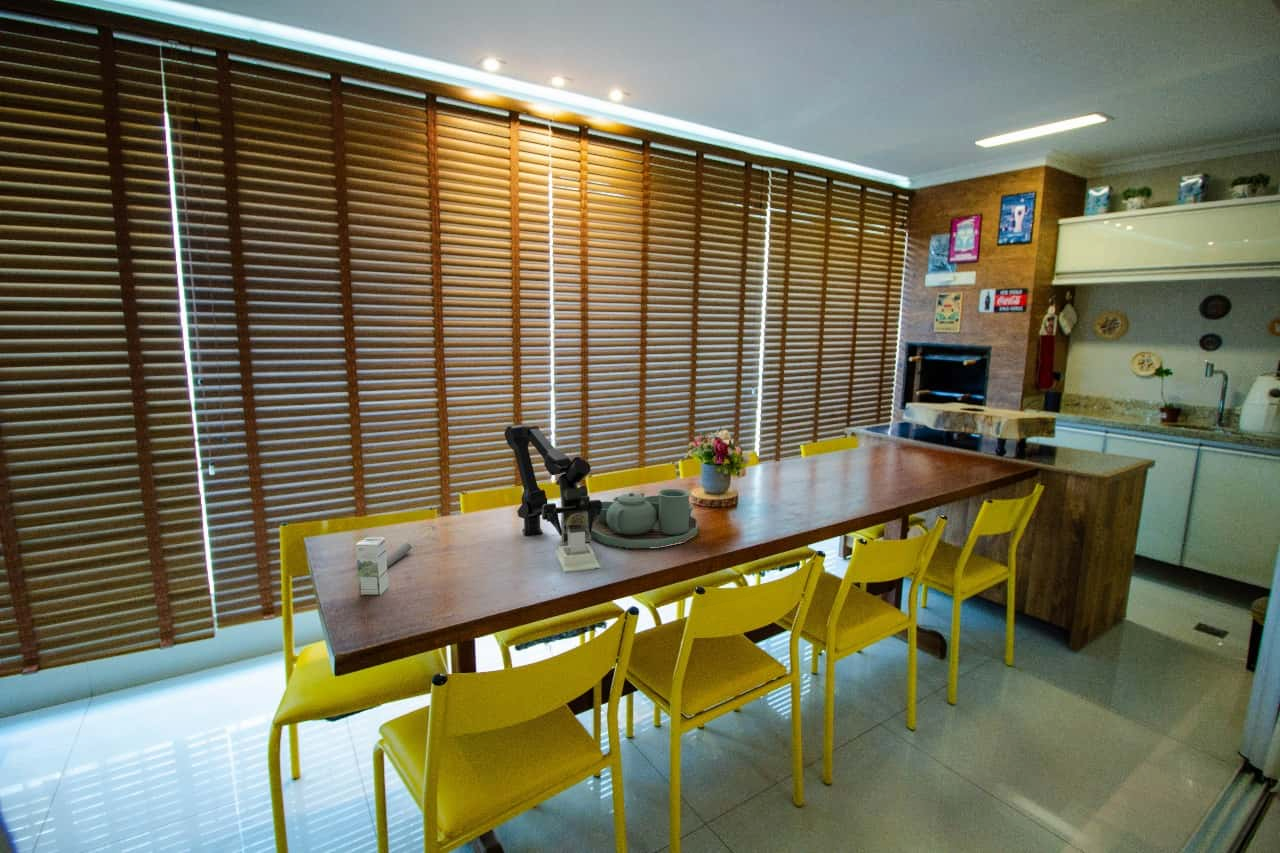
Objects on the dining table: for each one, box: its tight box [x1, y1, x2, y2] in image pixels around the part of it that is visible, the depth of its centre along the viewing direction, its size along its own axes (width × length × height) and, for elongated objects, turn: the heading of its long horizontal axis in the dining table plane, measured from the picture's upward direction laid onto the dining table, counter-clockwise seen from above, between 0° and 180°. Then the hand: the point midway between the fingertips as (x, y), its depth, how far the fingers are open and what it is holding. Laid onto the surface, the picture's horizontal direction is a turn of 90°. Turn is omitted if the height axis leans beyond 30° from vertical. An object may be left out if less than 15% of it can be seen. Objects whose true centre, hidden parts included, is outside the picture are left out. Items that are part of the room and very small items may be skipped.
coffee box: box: [560, 494, 591, 546], centre depth 192 cm, size 9×6×16 cm
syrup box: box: [355, 537, 389, 596], centre depth 153 cm, size 6×6×14 cm
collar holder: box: [554, 543, 602, 574], centre depth 176 cm, size 18×11×3 cm, turn 17°
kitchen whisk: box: [386, 522, 439, 569], centre depth 182 cm, size 6×34×6 cm, turn 172°
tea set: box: [590, 488, 699, 549], centre depth 203 cm, size 40×40×16 cm
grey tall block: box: [567, 524, 586, 556], centre depth 176 cm, size 4×4×10 cm
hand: (575, 533), depth 175 cm, fingers open, 9 cm apart
